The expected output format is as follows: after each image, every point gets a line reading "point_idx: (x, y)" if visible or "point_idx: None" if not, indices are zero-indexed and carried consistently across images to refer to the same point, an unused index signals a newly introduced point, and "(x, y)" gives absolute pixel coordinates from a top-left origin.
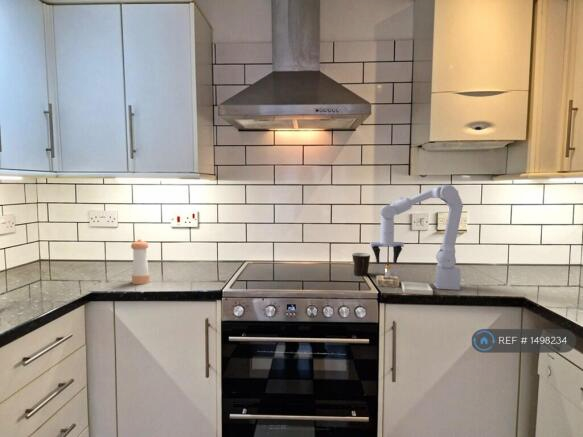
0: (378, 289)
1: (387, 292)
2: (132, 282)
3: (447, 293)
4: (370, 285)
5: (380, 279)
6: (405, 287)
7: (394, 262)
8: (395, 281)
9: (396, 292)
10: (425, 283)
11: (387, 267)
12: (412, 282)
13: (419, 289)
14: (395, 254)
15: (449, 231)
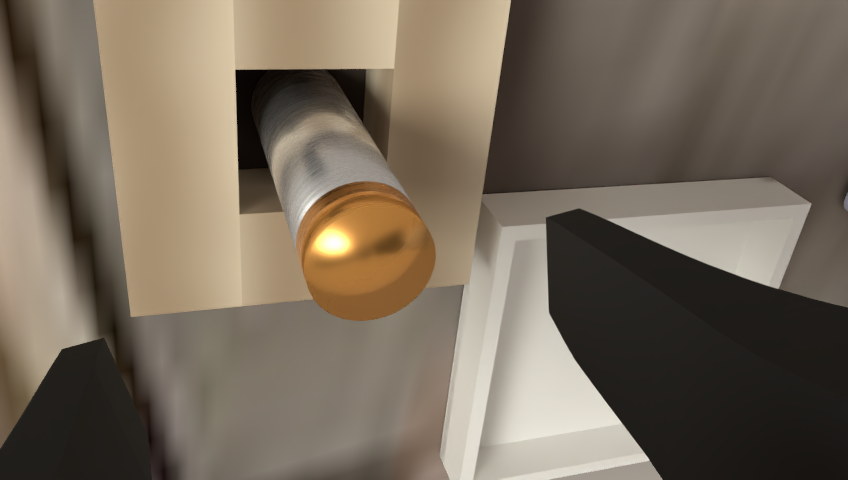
0: (150, 409)
1: (263, 476)
2: None
3: None
4: (7, 264)
5: (179, 256)
6: (511, 283)
7: (554, 295)
8: None
9: (366, 444)
10: (781, 217)
11: (348, 307)
12: (643, 224)
13: (604, 467)
14: (685, 471)
15: None
